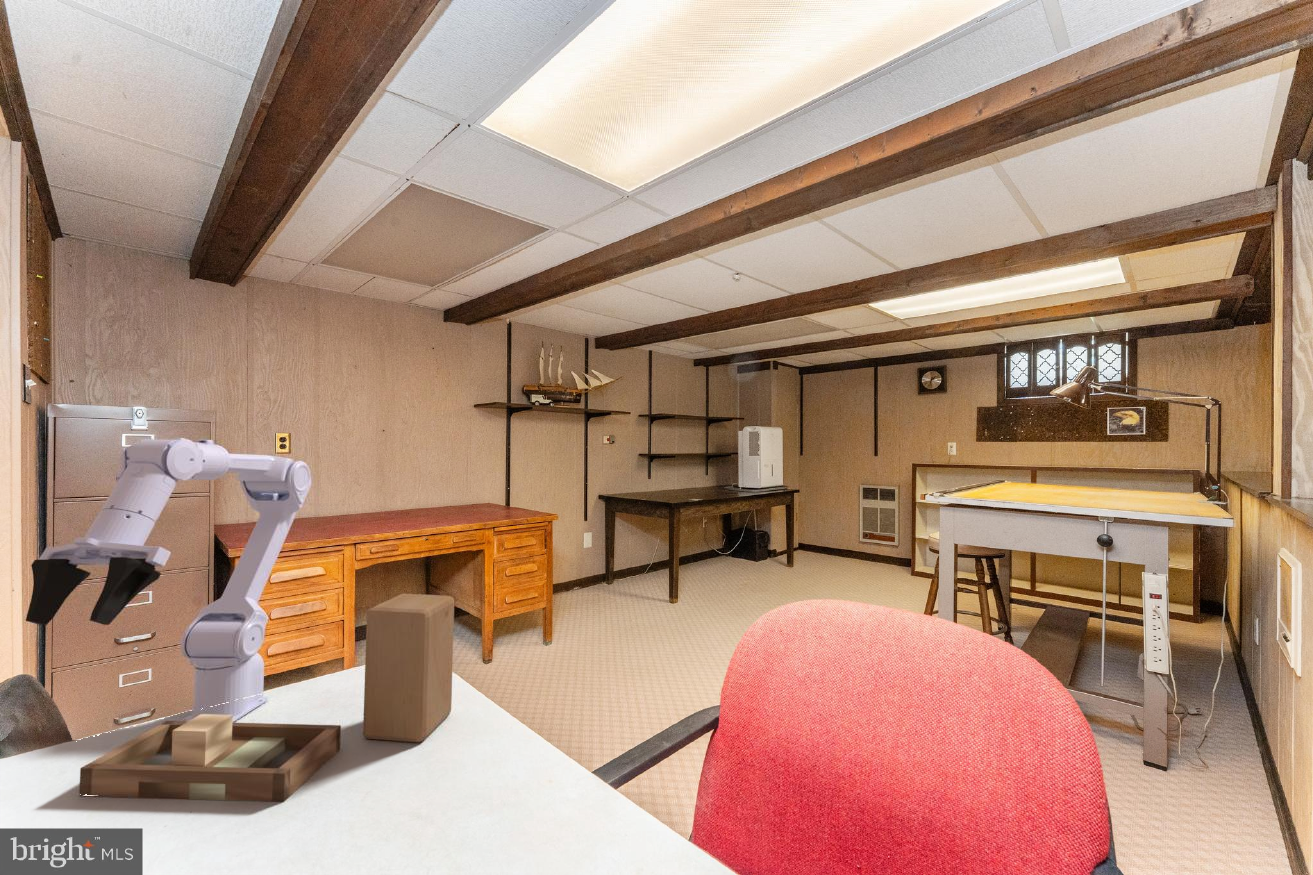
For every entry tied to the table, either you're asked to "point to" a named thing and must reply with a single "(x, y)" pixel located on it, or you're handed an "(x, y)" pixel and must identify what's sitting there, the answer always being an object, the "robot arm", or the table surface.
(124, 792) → the box
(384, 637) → the wooden block
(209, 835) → the table surface
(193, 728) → the maple block
